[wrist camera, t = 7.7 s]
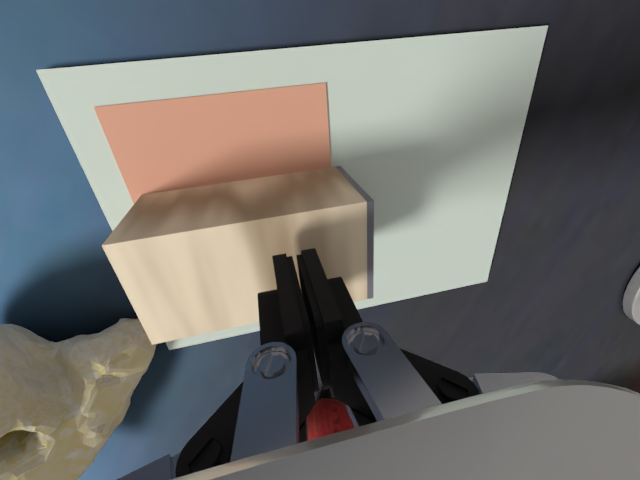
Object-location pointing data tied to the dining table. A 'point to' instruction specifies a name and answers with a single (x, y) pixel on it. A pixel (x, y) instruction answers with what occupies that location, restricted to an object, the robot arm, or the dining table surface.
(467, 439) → the robot arm
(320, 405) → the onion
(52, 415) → the beige rock
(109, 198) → the mat
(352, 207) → the maple block
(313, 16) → the dining table surface
